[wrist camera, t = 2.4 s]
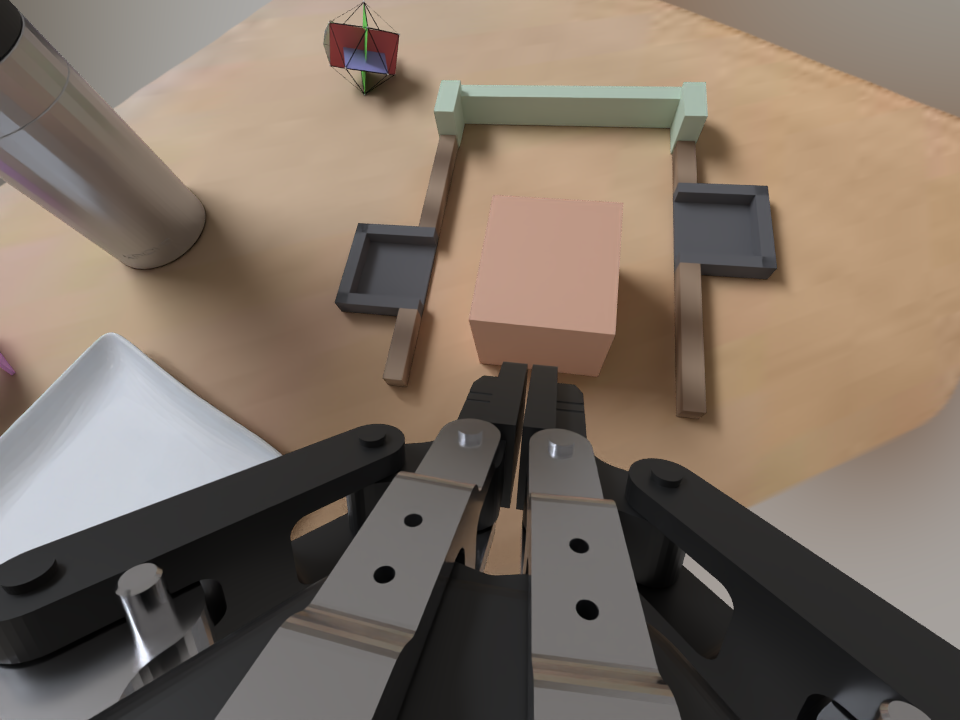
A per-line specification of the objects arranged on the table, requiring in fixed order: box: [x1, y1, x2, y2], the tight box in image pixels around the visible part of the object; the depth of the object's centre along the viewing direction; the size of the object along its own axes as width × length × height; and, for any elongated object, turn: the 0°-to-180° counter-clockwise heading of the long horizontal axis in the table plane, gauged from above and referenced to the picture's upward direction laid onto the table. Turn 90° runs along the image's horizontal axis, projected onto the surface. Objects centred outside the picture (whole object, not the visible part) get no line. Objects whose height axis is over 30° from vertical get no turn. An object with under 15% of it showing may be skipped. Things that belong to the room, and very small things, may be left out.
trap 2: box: [335, 223, 439, 318], centre depth 38 cm, size 8×7×2 cm
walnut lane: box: [383, 135, 706, 419], centre depth 38 cm, size 28×23×2 cm
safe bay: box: [434, 80, 708, 154], centre depth 42 cm, size 5×23×4 cm, turn 82°
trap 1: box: [673, 183, 777, 279], centre depth 37 cm, size 8×7×2 cm
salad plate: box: [0, 332, 283, 564], centre depth 32 cm, size 21×21×3 cm
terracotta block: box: [469, 195, 623, 377], centre depth 33 cm, size 10×9×8 cm
